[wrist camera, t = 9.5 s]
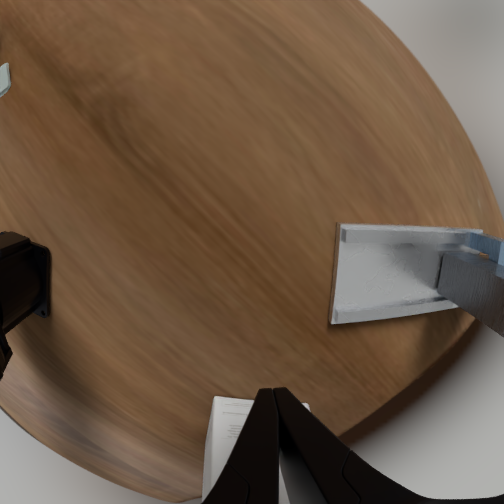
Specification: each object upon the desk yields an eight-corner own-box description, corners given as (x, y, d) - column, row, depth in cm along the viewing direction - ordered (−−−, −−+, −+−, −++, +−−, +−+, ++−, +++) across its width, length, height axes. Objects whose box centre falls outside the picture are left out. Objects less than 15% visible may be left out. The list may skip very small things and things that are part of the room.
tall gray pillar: (436, 292, 20) (512, 343, 11) (443, 252, 19) (528, 291, 10) (484, 285, 20) (550, 322, 11) (491, 251, 19) (562, 281, 10)
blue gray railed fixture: (328, 319, 21) (349, 353, 16) (336, 222, 19) (366, 235, 14) (464, 302, 22) (494, 321, 17) (477, 228, 20) (512, 239, 15)
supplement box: (203, 447, 24) (196, 567, 10) (213, 393, 22) (205, 551, 8) (285, 453, 25) (307, 564, 11) (311, 401, 23) (357, 539, 9)
